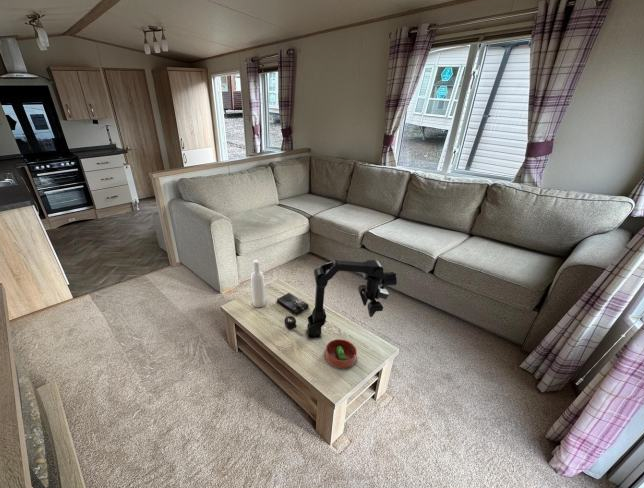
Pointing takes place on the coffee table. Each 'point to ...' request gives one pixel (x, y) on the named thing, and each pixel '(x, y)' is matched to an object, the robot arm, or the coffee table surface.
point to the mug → (290, 322)
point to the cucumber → (340, 353)
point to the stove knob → (298, 303)
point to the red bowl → (348, 350)
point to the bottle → (258, 285)
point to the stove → (291, 304)
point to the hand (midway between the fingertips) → (367, 311)
